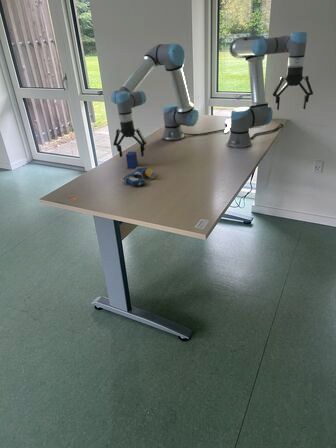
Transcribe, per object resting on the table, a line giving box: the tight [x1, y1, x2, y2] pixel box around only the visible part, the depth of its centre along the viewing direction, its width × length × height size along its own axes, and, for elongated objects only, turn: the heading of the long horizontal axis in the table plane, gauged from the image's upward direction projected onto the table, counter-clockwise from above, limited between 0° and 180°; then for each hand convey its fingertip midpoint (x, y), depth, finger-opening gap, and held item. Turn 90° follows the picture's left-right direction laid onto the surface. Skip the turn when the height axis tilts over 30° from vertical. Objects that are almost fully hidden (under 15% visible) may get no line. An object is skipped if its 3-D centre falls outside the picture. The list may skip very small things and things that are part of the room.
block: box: [125, 151, 139, 169], centre depth 203 cm, size 5×6×9 cm
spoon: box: [223, 117, 231, 134], centre depth 262 cm, size 35×11×2 cm, turn 159°
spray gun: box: [122, 166, 157, 187], centre depth 186 cm, size 21×4×15 cm
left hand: (131, 156), depth 202 cm, fingers open, 13 cm apart
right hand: (290, 109), depth 182 cm, fingers open, 13 cm apart
